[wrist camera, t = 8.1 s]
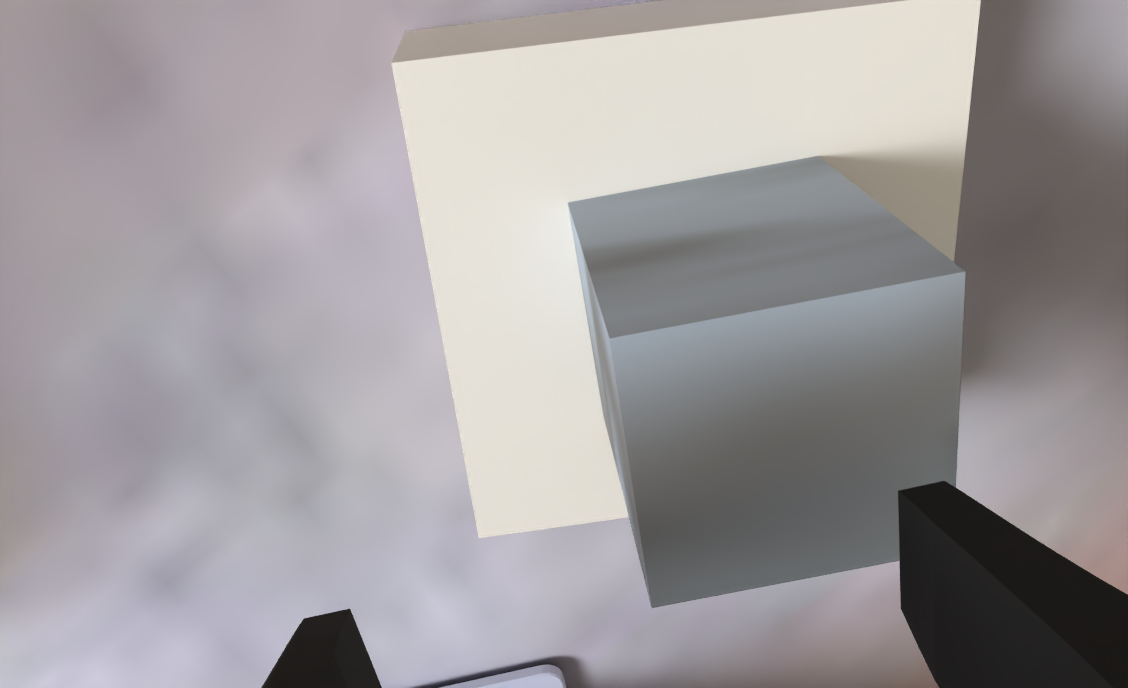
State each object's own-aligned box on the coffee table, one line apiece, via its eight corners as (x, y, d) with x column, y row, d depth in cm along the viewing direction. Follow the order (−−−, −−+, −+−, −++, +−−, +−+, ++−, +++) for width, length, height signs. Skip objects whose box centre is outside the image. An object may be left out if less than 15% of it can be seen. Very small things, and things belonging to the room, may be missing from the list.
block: (825, 374, 19) (952, 550, 14) (603, 416, 19) (651, 608, 14) (817, 155, 16) (966, 271, 12) (567, 202, 16) (609, 338, 12)
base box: (862, 385, 24) (931, 474, 20) (477, 437, 23) (479, 538, 20) (885, -30, 19) (982, -9, 15) (406, 28, 19) (391, 62, 15)
